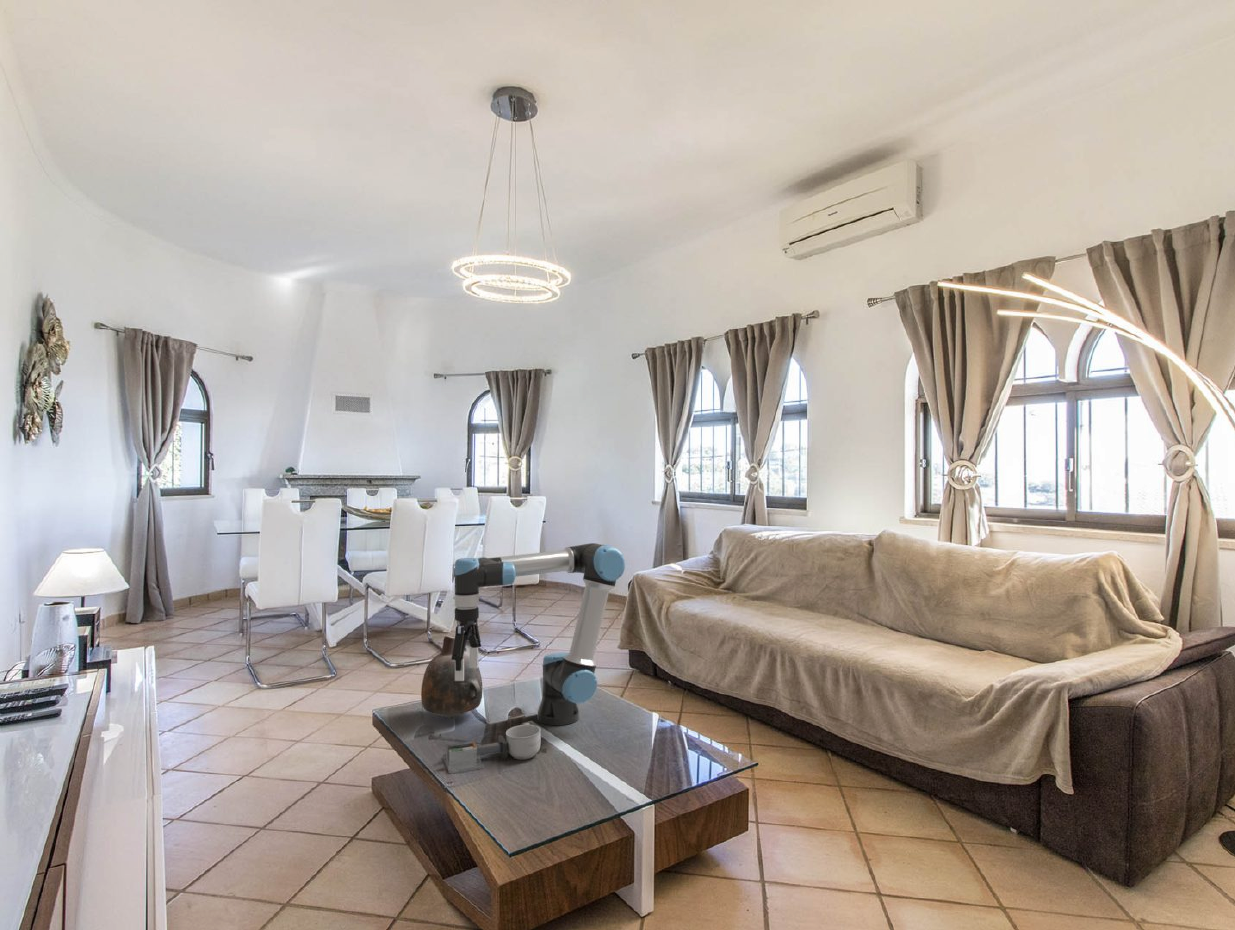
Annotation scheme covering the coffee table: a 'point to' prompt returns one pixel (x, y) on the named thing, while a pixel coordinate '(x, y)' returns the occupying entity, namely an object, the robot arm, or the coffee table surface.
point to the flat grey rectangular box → (462, 758)
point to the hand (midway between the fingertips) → (466, 674)
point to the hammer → (493, 748)
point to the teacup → (523, 741)
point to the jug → (450, 684)
